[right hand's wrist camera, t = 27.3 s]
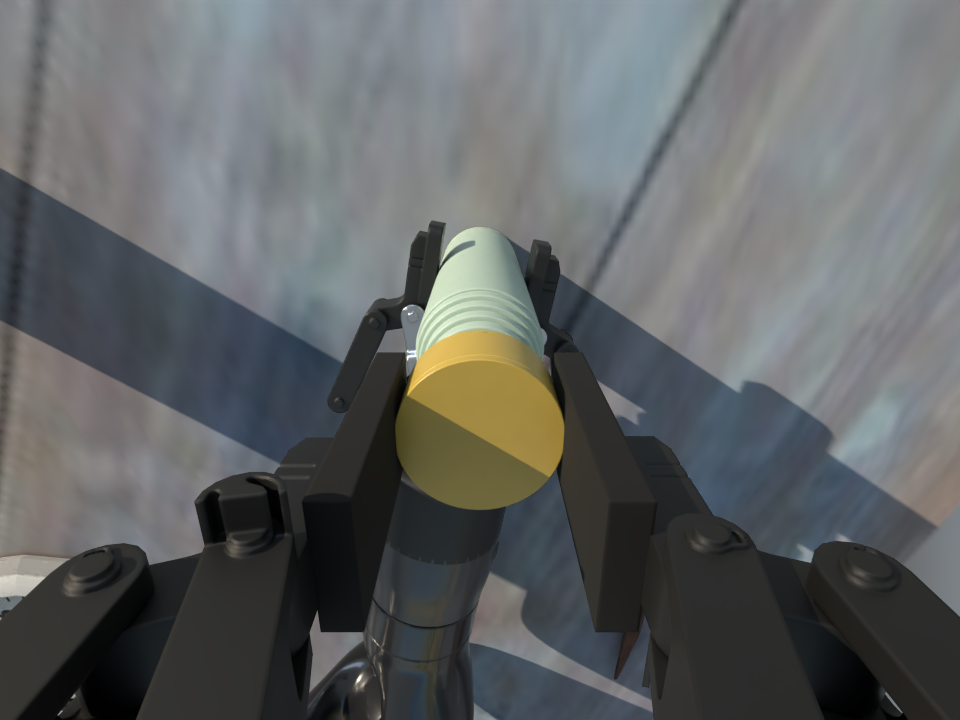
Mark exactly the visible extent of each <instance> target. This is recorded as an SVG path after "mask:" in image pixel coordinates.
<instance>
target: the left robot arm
mask: <svg viewBox="0 0 960 720" xmlns="http://www.w3.org/2000/svg"><path fill="white" fill-rule="evenodd" d="M445 227H446V223H442V222H437V221H431V222H430V224H429V228H428V232H424V231H420V232H419V233H418V234H417V236H416V237H415V239H414V241H413V243H412V244H411V250H410V258H409V266H408V272H407V280H406V287H405V294H404V295H403V296H401V297H399V298H394V299H388V300H387V299H384V298H381V299H377V300H376V301H375V302H374V303H373V304H372V306H371V307H370V309H369V310H368V311H367V313H366V314H365V316H364V317H363V319H362V322H361V324H360V326H359V329H358V331H357V333H356V335H355V338H354V340H353V342H352V345H351V347H350V349H349V351H348V354H347V356H346V358H345V361H344V363H343V365H342V367H341V370H340V372H339V374H338V377H337V379H336V381H335V383H334V386H333V388H332V390H331V393H330V395H329V397H328V406H329V407H330V409H331V410H333V411H334V412H337V413H344V412H346V411H348V409H349V407H350V405H351V403H352V401H353V399H354V397H355V395H356V394H357V392H358V390H359V388H360V386H361V384H362V382H363V380H364V378H365V376H366V374H367V372H368V370H369V367H370V365H371V363H372V360H373V358H374V356H375V354H376V352H377V350H378V347H379V345H380V343H381V341H382V339H383V336H384V334H385V332H386V331H387V330H393V329H399V328H403V333H404V338H405V343H406V349H407V364H408V370H409V375H410V373H411V371H412V369H413V367H414V365H415V364H416V362H417V360H416V339H417V334H418V331H419V327H420V324H421V321H422V318H423V316H424V313H425V310H426V307H427V304H428V301H429V298H430V295H431V292H432V289H433V286H434V283H435V280H436V278H437V275H438V272H439V266H440V259H441V253H442V246H443V240H444V233H445ZM559 276H560V266H559V261H558V259H557V258H556V257H555V256H554V255H551V245H550V244H549V243H548V242H546V241H540V240H535V239H534V240H533V243H532V247H531V252H530V256H529V261H528V265H527V270H526V275H525V279H524V281H525V284H526V287H527V290H528V292H529V295H530V298H531V301H532V304H533V307H534V310H535V313H536V316H537V319H538V322H539V325H540V328H541V331H542V334H543V339H544V355H546V356H548V357H550V364H551V379H552V382H553V369H554V353H579V351H578V349H577V347H576V346H575V345H574V343H573V339H572V337H571V335H570V333H569V332H567V331H566V330H562V329H560V330H559V329H558V328H556V327H554V326H552V325H551V324H550V323H549V317H550V313H551V308H552V304H553V300H554V296H555V291H556V288H557V283H558V280H559ZM408 378H409V376H408V377H407V381H408ZM505 509H506V506H505V507H501V508H496V509H489V510H472V509H464V508H458V507H454V506H451V505H448V504H445V503H443V502H441V501H438V500H436V499H435V498H433V497H431V496H429V495H428V494H427V493H425V492H424V491H423V490H421V489H420V488H419V487H418V486H417V485H416V484H415V483H414V482H413V481H412V480H411V479H410V477H409V476H408V475H407V474H406V472H405V470H404V469H403V473H402V477H401V481H400V485H399V489H398V493H397V498H396V502H395V506H394V510H393V514H392V519H391V523H390V527H389V531H388V535H387V539H386V544H385V548H384V552H383V556H382V560H381V565H380V569H379V573H378V577H377V581H376V585H375V590H374V594H373V598H372V602H371V606H370V611H369V615H368V619H367V623H366V627H365V632H363V639H364V640H363V641H362V642H361V643H359V644H358V645H357V646H355V647H354V648H353V649H352V650H351V651H350V652H348V653H347V654H346V655H345V656H344V657H343V658H342V659H341V660H340V661H339V662H338V663H337V664H336V665H335V667H334V668H333V669H332V670H331V671H330V672H329V673H328V674H327V675H326V676H325V677H324V678H323V679H322V680H321V681H320V682H319V683H318V684H317V685H316V687H315V688H314V689H313V690H312V691H311V692H310V693H309V698H308V708H307V718H306V720H473V719H474V697H473V678H472V661H471V653H470V646H469V638H470V635H471V631H472V626H473V622H474V618H475V614H476V610H477V606H478V601H479V598H480V594H481V592H482V589H483V587H484V585H485V582H486V580H487V578H488V575H489V572H490V569H491V566H492V562H493V559H495V556H496V553H497V549H498V545H499V542H498V538H499V533H500V529H501V525H502V521H503V517H504V513H505Z"/></svg>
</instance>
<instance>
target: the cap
mask: <svg viewBox="0 0 960 720" xmlns="http://www.w3.org/2000/svg"><path fill="white" fill-rule="evenodd" d="M564 425H565V421H564V417H563V414H562V410H561V407H560V404H559V401H558V398H557V394H556V391H555V388H554V385H553V382H552V379H551V376H550V374H549V371H548V369H547V367H546V366H545V364H544V362H543V361H542V360H541V358H540V357H539V356H538V355H537V354H536V353H535V352H534V351H533V350H532V349H531V348H530V347H529V346H527V345H526V344H524V343H523V342H521V341H519V340H517V339H516V338H514V337H511V336H509V335H506V334H503V333H499V332H494V331H486V330H473V331H466V332H461V333H457V334H454V335H451V336H449V337H446V338H444V339H442V340H440V341H439V342H437V343H435V344H434V345H433V346H431V347H430V348H429V349H428V350H426V352H425V353H424V354H423V355H422V356H421V357H420V358H419V359H418V361H417V362H416V364H415V365H414V367H413V369H412V371H411V373H410V375H409V378H408V381H407V384H406V387H405V391H404V394H403V397H402V400H401V403H400V407H399V410H398V413H397V416H396V421H395V432H396V447H397V456H398V458H399V460H400V463H401V465H402V467H403V469H404V470H405V472H406V474H407V475H408V476H409V477H410V479H411V480H412V481H413V482H414V483H415V484H416V485H417V486H418V487H419V488H420V489H421V490H423V491H424V492H425V493H427V494H428V495H429V496H431V497H433V498H435V499H436V500H438V501H441V502H443V503H445V504H448V505H451V506H454V507H458V508H464V509H472V510H489V509H496V508H501V507H505V506H509V505H512V504H514V503H517V502H519V501H521V500H523V499H525V498H527V497H529V496H530V495H532V494H533V493H535V492H536V491H537V490H538V489H540V488H541V487H542V486H543V485H544V484H545V483H546V482H547V481H548V480H549V479H550V477H551V476H552V474H553V473H554V472H555V470H556V468H557V466H558V464H559V462H560V460H561V458H562V454H563V441H564Z"/></svg>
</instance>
